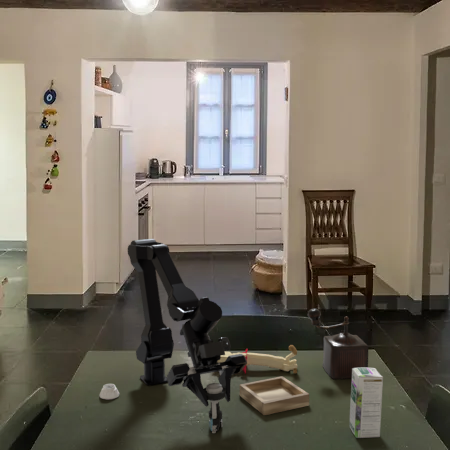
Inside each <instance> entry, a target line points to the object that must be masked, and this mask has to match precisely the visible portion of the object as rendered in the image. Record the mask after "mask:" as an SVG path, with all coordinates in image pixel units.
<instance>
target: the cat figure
mask: <svg viewBox="0 0 450 450" xmlns="http://www.w3.org/2000/svg"><path fill="white" fill-rule="evenodd" d="M288 350H289V351H290V353H289V354H288V355H286V356H285V357H284V356H278V355H277V356H275V355H273V354H268V353H267V354H265V353H256V352H248V348H246V349H245V351H243V352H239V351H238V352H233V353H232V352H231V351H225V355H220V356H221V359H220V360H218V361H217V362H218V363H220V362H225V361H226V359H227V358H228V356H231V355H237V354H242V355H244V356H245V358H246V360H247V364H246V366H245V367H244V368H243V370H242V371H243V373H244V374H247V366H262V367H268V368H272V369H279V370H282V371H283V372H289V371H291V370H292V373H293V374H297V373H298V364H297V359H295V358H294V357H295V356H297V355H298V350H297V348H296V347H295V346H294V345H293V344H290V345H289V346H288ZM293 358H294V359H293Z"/></svg>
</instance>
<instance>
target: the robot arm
mask: <svg viewBox="0 0 450 450" xmlns="http://www.w3.org/2000/svg"><path fill="white" fill-rule="evenodd" d="M127 254H128V257H129V260H130V264H131V266H132V267H133V268H134V269H135V270H136V272H137V274H138V280H139V281H138V282H139V288H140V295H141V301H142V302H141V303H142V309H143V317H144V323H145V324H144V327H143V330H142V332H141V335H140V340H141V341H140V344H139V346H138V347H137V348H136V350H135V355H136V359H137V360H138V361H139V362H141V363H142V364H143V375H140V376H139V378H140V380H141V381H143V383H144V384H145V385H146V386H152V385H157V384H163V383H167V384H168V386H169V387H174V386H178V385H181V386H182V387H183V388H187V389H188V390H190V392H191V393H193V395H195V396H196V397H197V399H198V400H199V401H200V402H201V403H202V404H203V406H205V408H206V407H208V406H209V400H208V399H207V396H206V394H205V391H204V388H205V387H204V386H203V383H202V378H201V376H202V375H204V374H205V375H206V374H210V373H211V374H212V373H216V372H217V373H218V374H219V377H218V378H217V380H218V383H219V384H221V385H222V387H224V388H225V389H226V392H225V397H224V399H225V400H226V402H227V403H230V402H231V381H232V376H233V375H236V374H237V375H238V374H240V373H241V372H242V371H243V368H244V367H245V366H246V364H247V360H246V358H245V356H244V355H242V354H237V355H231V356H228V358H227V359H226V361H225V362H220V363H218V362H217V361H218V360H220V359H221V356H220V355H225V351H226V352H230V351H231V350H232V349H231V348H232V346H231V342H230V339H229V338H228V336H224V337H219V338H218V339H217V340H218V341H215V342H214V340H213V339H210V335H209V333H210V332H211V331H212V330H213V329H214V328H215V326H216V325H217V324H218V322H219V321H220V320H221V318H222V317H223V311H222V307H221V306H219V304H217V303H216V302H215V301H212V300H210V298H209V297H208V296H206V297H205V296H204V297H200V298H199V297H198V296H197V295H196V293H195V292H194V290H192V289H191V288H189V287H188V286H187V285H186V284H185V282H184V281H183V278H182V276H181V275H180V273H179V270H178V268H177V267H176V265H175V262H174V261H173V258H172V256H171V254H170V248H169V246H168V245H167V244H165V243H163V242H158V241H156V240H155V238H146V239H137V240H131V242H130V244H128V245H127ZM157 274H158V277H159V279H160V281H161V283H162V286H163V287H164V290H165V292H166V295H167V302H166V307H167V309H168V314H169V316H170V317H171V319H172V321H174V322H184V321H186V322H184V324H182V326H181V329H180V331H179V335H180V336H183V337H184V340H185V344H186V346H187V350H188V351H187V356H188V358H190V360H191V363H192V366H190V364H188V363H187V362H184V363H178V364H173V365H172V366H171V368H170V369H169V371H168V373H167V374H165V373H166V372H165V370H166V368H165V364H166V363H165V360H166V359H167V360H168V359H171V358H172V357H173V351H174V345H175V343H174V340H173V333H172V328H170V327H168V326H167V325H166V324H165V323H164V320H163V314H162V313H163V312H162V304H161V297H160V291H159V284H158V278H157ZM246 367H247V366H246Z"/></svg>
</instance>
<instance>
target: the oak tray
mask: <svg viewBox="0 0 450 450" xmlns="http://www.w3.org/2000/svg"><path fill="white" fill-rule="evenodd" d="M239 397H241V398H242V399H243V400H244V401H246V402H247V403H248V404H250V405H251V406H252V407H253V408H254V409H256V411H258V412H259V413H260V414H262V415H263V416H267V415H268V416H269V415H271V414H276V413H280V412H282V413H283V412H285V411H290V410H294V409H299V408H303V407H307V406H310V393H309V392H307V391H305V390H304V389H302V388H301V387H299V386H298V385H296V384H295V383H293V382H292V381H290V380H289V379H287V378H285V377H284V376H277V377H276V376H275V377H272V378H266V379H261V380H257V381H251V382H246V383H241V384H239Z"/></svg>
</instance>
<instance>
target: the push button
mask: <svg viewBox="0 0 450 450" xmlns="http://www.w3.org/2000/svg"><path fill="white" fill-rule="evenodd" d="M203 388H204V391H205V394H206V396H207V399H208V402H210V408H209V411H208V418H209V420H208V427H209V428H210V432H211V433H212V434H216V432H219V429H220V428H221V427H223V411H222V410H221V408H220V402H219V401H222V399H225V392H226V389H225V388H224V387H222V385H221V384H220V383H219V382H212V383H208V384H207V385H206V387H203ZM220 426H221V427H220Z"/></svg>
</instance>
